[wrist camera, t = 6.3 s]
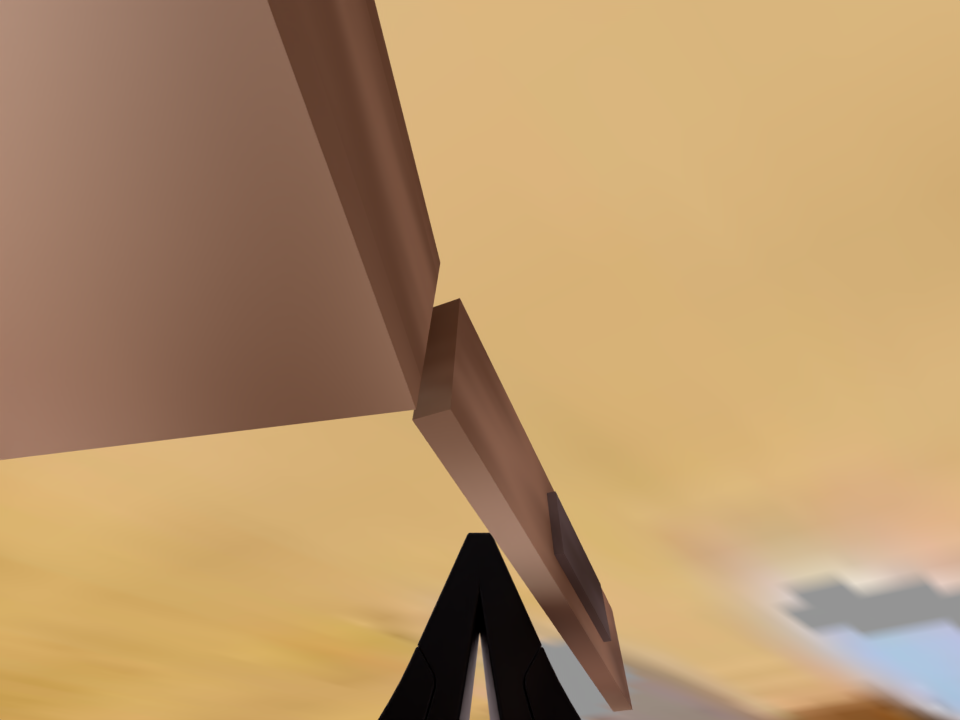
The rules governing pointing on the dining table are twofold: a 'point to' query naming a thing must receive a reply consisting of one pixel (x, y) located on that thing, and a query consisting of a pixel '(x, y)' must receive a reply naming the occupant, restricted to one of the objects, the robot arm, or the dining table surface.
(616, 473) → the dining table surface
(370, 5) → the brown piece
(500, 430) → the flap
